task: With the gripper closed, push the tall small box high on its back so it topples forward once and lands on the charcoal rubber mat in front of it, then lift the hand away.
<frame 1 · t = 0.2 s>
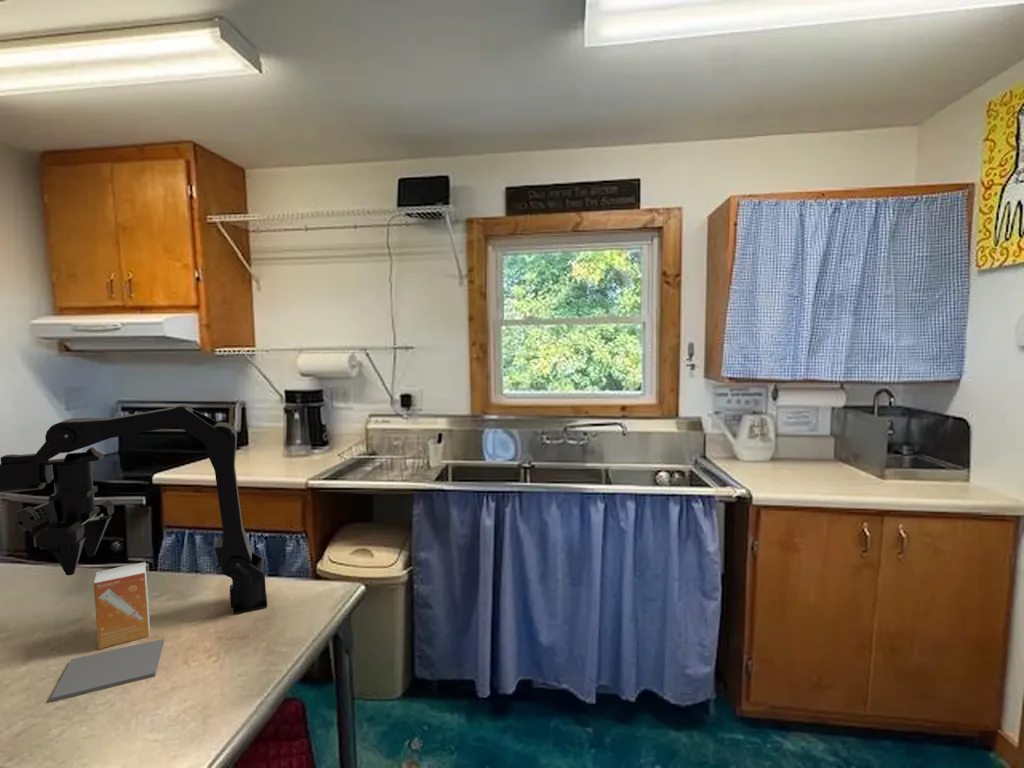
hand: (81, 565, 104), 15 cm above the table, tool pointing down, fingers open, 9 cm apart
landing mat: (112, 669, 95), on the table
small box: (125, 637, 106), on the table
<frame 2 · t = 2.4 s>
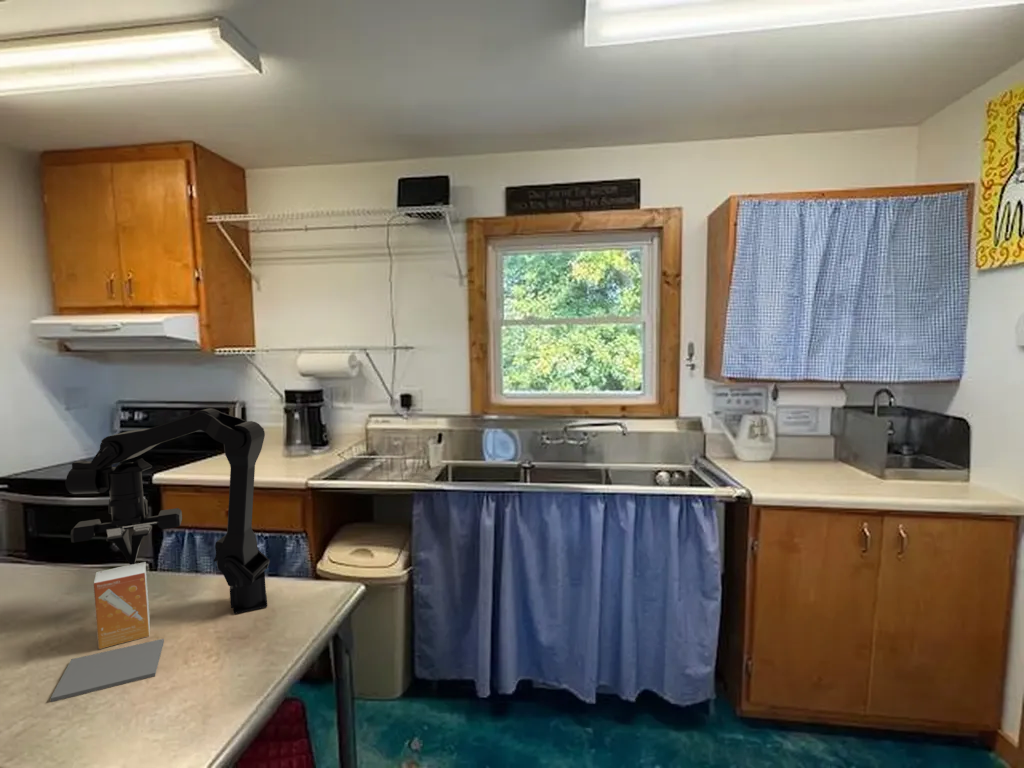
hand: (132, 563, 115), 10 cm above the table, tool pointing down, fingers closed
nothing on the table moved.
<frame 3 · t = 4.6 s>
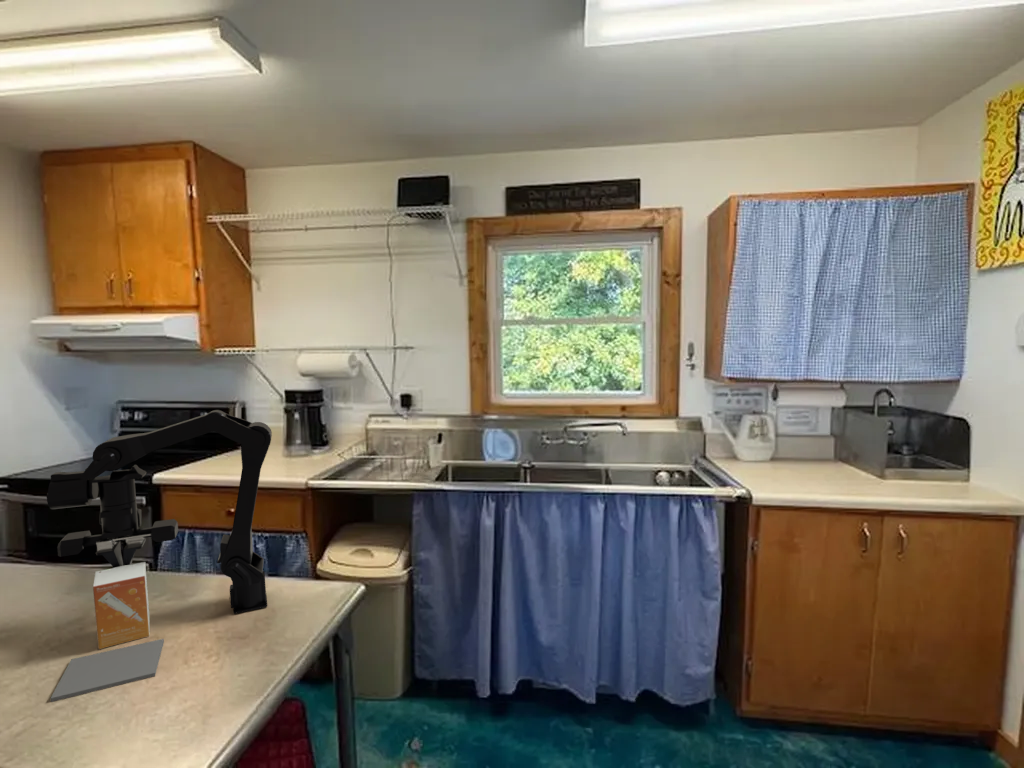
hand: (124, 578, 108), 10 cm above the table, tool pointing down, fingers closed
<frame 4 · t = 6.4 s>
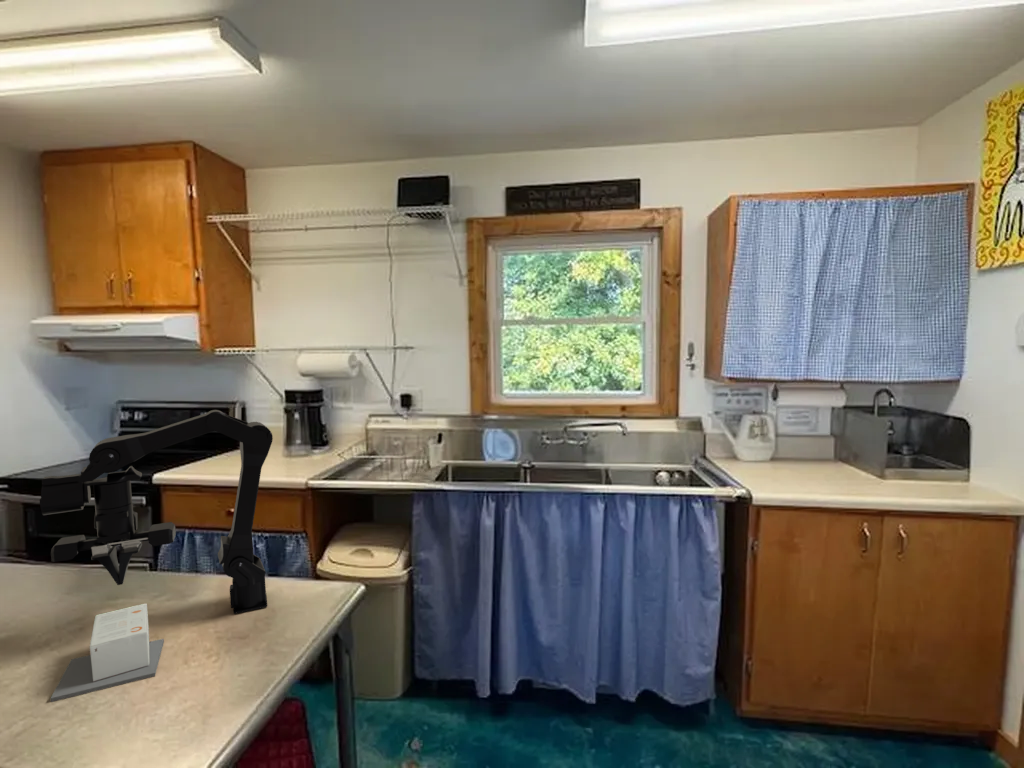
hand: (120, 583, 104), 11 cm above the table, tool pointing down, fingers closed
small box: (123, 624, 103), point 4 cm above the table, touching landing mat
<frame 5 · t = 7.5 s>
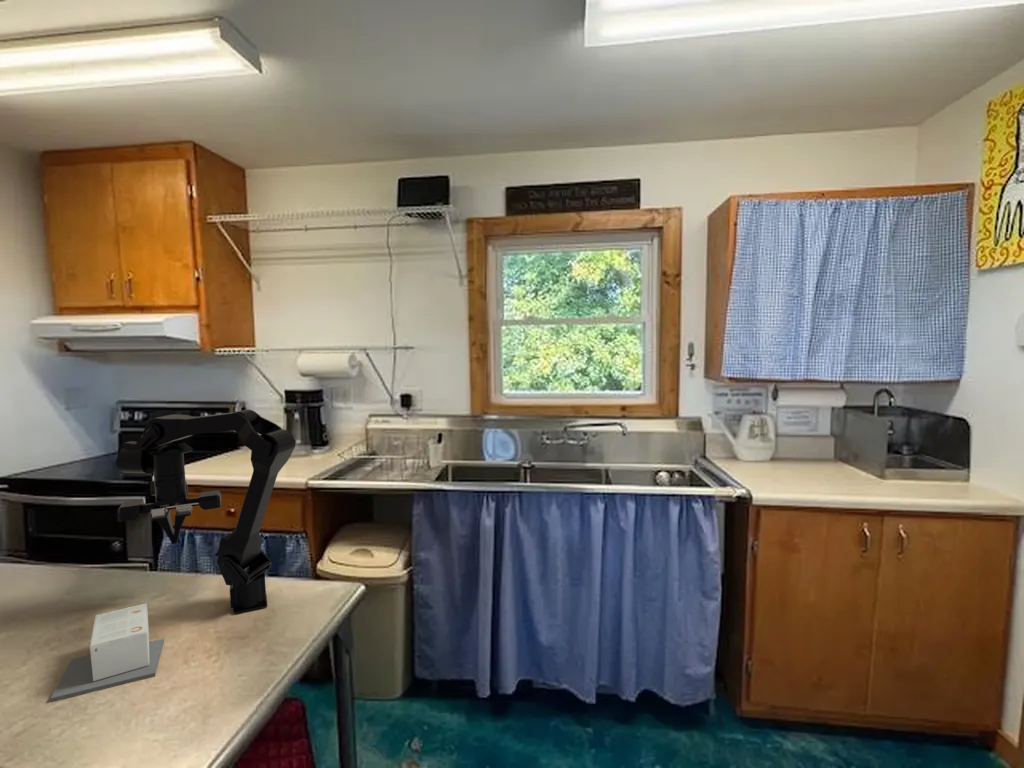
hand: (174, 543, 119), 13 cm above the table, tool pointing down, fingers closed
nothing on the table moved.
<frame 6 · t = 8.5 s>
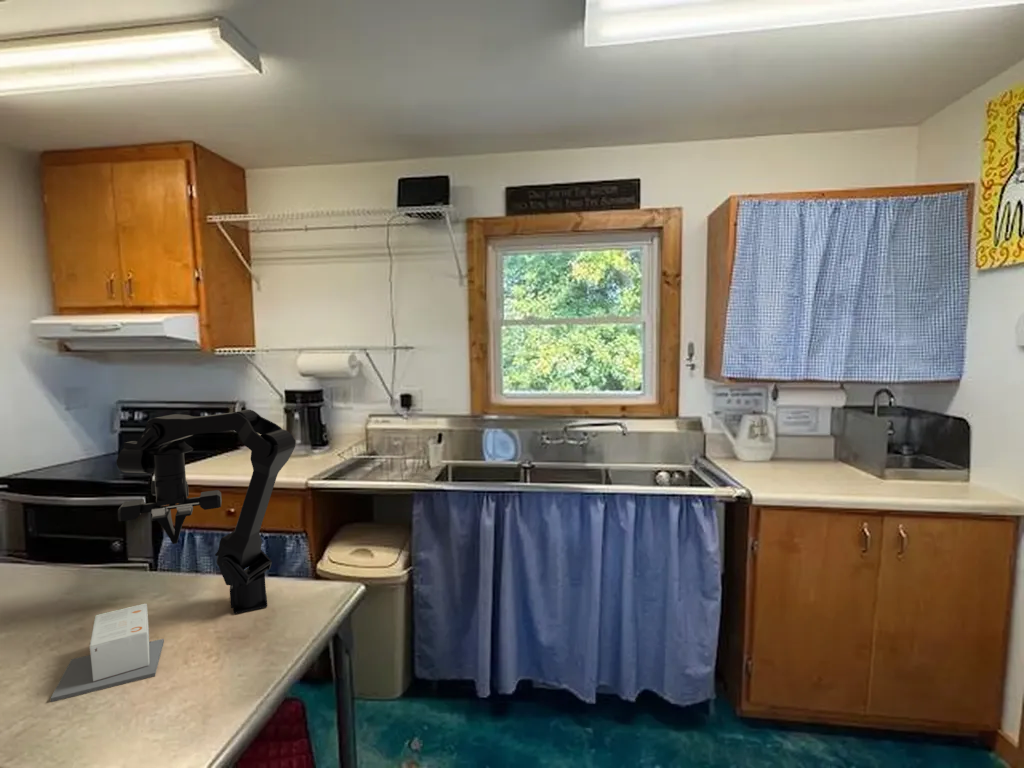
hand: (175, 543, 119), 13 cm above the table, tool pointing down, fingers closed
nothing on the table moved.
at the end: small box tilted 89°; small box inside the target area (2.8 cm from its centre), point 3.6 cm above the table; small box touching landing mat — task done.
